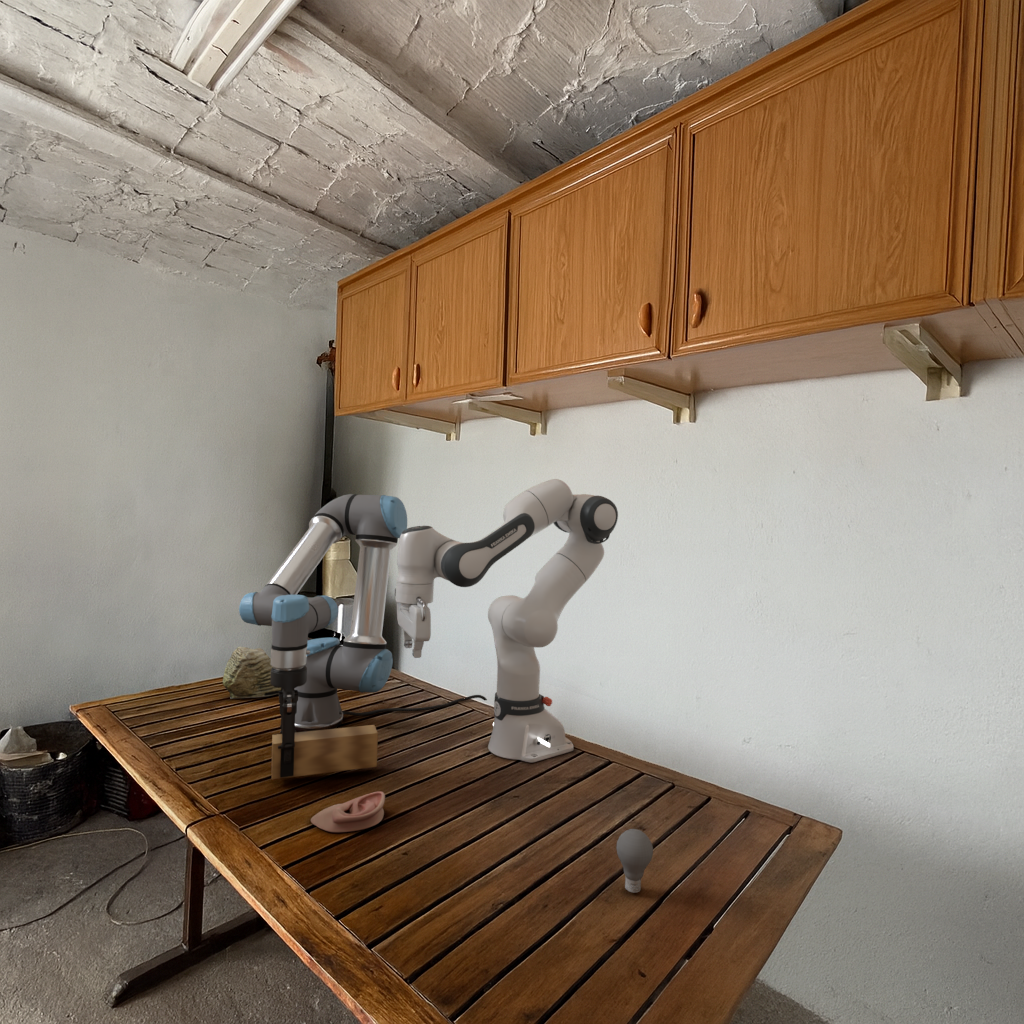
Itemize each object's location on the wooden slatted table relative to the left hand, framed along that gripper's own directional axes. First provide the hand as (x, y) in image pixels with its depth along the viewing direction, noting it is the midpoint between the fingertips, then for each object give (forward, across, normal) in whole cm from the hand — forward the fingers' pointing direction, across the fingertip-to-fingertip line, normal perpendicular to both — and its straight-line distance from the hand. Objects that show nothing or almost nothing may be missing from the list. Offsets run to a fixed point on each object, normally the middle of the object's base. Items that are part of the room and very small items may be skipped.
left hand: (286, 769), depth 140 cm
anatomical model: (+2, -21, -11) cm, 23 cm away
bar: (+1, 0, -8) cm, 8 cm away
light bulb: (+2, -58, -53) cm, 78 cm away
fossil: (+4, +65, +8) cm, 66 cm away
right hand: (-24, +1, -28) cm, 37 cm away
